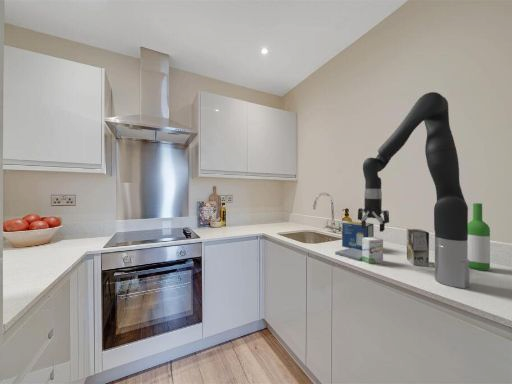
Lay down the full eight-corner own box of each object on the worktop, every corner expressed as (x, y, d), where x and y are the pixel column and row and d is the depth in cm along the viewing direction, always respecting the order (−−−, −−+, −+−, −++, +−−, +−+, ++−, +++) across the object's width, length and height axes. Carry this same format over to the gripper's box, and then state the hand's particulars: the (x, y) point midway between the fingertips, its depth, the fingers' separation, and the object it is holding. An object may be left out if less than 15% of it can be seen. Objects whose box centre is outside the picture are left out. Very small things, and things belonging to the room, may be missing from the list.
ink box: (369, 263, 100) (369, 239, 100) (361, 260, 104) (361, 237, 104) (383, 262, 102) (383, 238, 102) (375, 259, 106) (375, 236, 106)
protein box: (349, 243, 139) (349, 220, 139) (373, 248, 127) (374, 223, 127) (341, 246, 132) (341, 222, 132) (366, 251, 120) (366, 225, 120)
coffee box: (429, 266, 96) (429, 232, 96) (413, 265, 98) (413, 231, 98) (421, 260, 105) (421, 229, 105) (406, 259, 107) (406, 228, 107)
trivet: (375, 255, 112) (375, 253, 112) (359, 261, 104) (359, 258, 104) (351, 249, 124) (351, 247, 124) (335, 254, 115) (335, 251, 115)
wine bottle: (488, 272, 89) (488, 204, 89) (463, 267, 96) (463, 203, 96) (491, 269, 94) (491, 203, 94) (467, 264, 100) (467, 202, 100)
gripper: (392, 198, 99) (391, 231, 99) (363, 197, 111) (362, 227, 111) (384, 198, 95) (383, 233, 95) (355, 197, 107) (354, 228, 107)
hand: (372, 230), depth 103 cm, fingers open, 8 cm apart
